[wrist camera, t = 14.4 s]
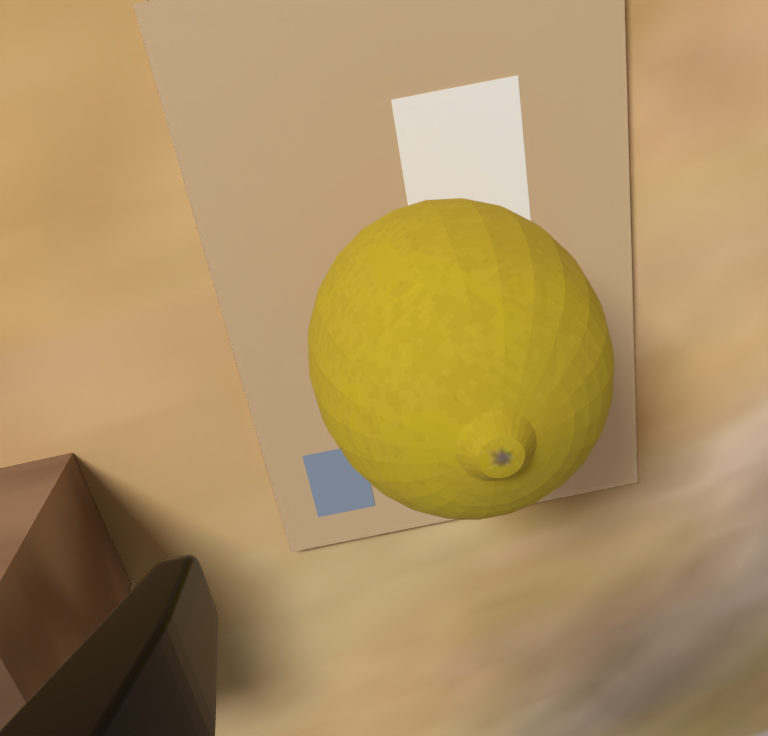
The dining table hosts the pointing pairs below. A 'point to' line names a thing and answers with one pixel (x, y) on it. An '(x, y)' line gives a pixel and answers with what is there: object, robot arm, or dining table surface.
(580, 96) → the envelope
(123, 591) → the walnut block
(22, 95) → the dining table surface
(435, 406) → the lemon
